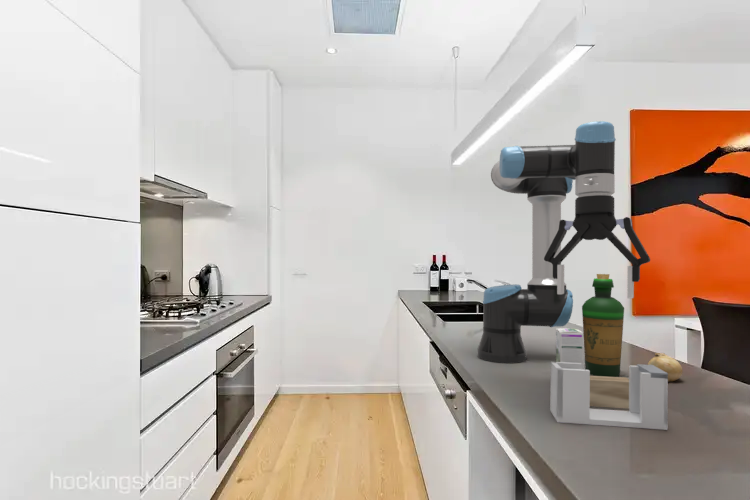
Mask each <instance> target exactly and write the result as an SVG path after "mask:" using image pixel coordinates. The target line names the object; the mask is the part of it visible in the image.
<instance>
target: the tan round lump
mask: <svg viewBox="0 0 750 500" xmlns="http://www.w3.org/2000/svg"><path fill="white" fill-rule="evenodd" d="M647 365H654V366H655V367H657V368H659V369H661V370H663V371H664V372H666V373H668V383H669V382H670V383H672V382H676V381H677V380H679V379H680V378H681V377H682V375H683V367H682V365H681V364H680V362H679V361H678V360H677V359H675V358H674V357H671V356H669V355H667V354H665V353H664V352H663V353H661V352H655V354H654V357H652V358H650V360H649V361H648V362H647Z"/></svg>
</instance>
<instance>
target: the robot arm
mask: <svg viewBox="0 0 750 500" xmlns="http://www.w3.org/2000/svg"><path fill="white" fill-rule="evenodd" d="M574 141H575V142H574V143H575V144H558V145H557V144H556V145H527V146H526V145H524V146H522V145H521V146H519V145H514V146H505V147H502V149H501V150H500V154H499V160H498V161H497V162H496V163H494V165H493V166H492V168H491V172H490V178H491V181H492V183H493V185H494V186H495V187H496V188H498V189H499V190H502V191H504V192H507V193H509V194H518V195H519V194H525V195H526V194H527V196H526V197H527V201H528V202H529V203H531V206H532V211H531V212H532V216H531V217H532V221H531V223H532V224H531V225H532V227H531V228H532V231H531V232H532V243H531V244H532V247H531V248H532V249H531V250H532V253H531V254H532V264H531V267H532V268H531V269H532V270H531V272H532V275H531V277H532V278H531V279H530V280H529V281H528V282H527V288H523V289H522V286H521V285H520V284H502V285H495V286H489V287H487V288H485V290H484V291H483V300H482V304H483V310H482V311H483V313H482V315H483V316H482V317H483V321H482V323H483V325H482V328H483V329H482V330H483V332H482V334H481V338H480V340H479V345H478V348H477V353H476V354H477V358H479V359H481V360H484V361H488V362H494V363H502V364H503V363H504V364H505V363H507V364H511V363H512V364H513V363H522V362H525V361H526V360H527V351H526V348H525V343H524V341H523V337H522V335H521V334H522V333H521V326H527V327H549V328H554V327H555V328H557V327H558V328H559V327H561V328H562V327H565V326H566V325H567V324H568V323H569V322H570V320H571V317H572V313H573V309H574V308H573V307H574V299H573V298H574V297H573V292H572V291H571V290H569V289H568V288H567V283H566V282H565V264H562V262H563V261H564V260H565V258H567V256H568V255H570V253H571V252H572V251H574V249H575V248H576V246H577V245H578V244H579V243H580V242H581V241H583V240H585V241H591V240H592V241H593V240H598V241H604V240H605V239H606V240H607V241H609V242H610V243H611V244H612V245H613V246H614V247H615V248H616V249H617V250H618V251H619V252H620V253H621V254H622V255H623V256H624V257H625V259H627V261H628V262H629V263H630V264H631V265H627V299H634V298H635V294H634V291H635V286H634V285H635V283H639V282H640V279H641V266H642V265H644V264H647V263H650V262H651V257H650V256H649V254H648V253H647V250H646V249H645V247H644V246H643V244H642V242H641V240H640V239H639V237H638V235H637V233H636V231H635V230H634V227H633V220H632V218H631V217H628V216H625V217H624V218H619V219H616V217H615V197H614V196H613V195H614V194H615V186H616V185H615V181H616V180H615V179H616V178H615V154H616V153H615V152H616V151H615V148H616V147H615V145H616V141H617V140H616V137H615V126H614V124H613V123H611V122H609V121H603V120H602V121H601V120H600V121H597V120H596V121H590V122H589V121H588V122H585V123H583V124H580V125H579V126H577V127H576V130H575V136H574ZM573 181H575V184H574V185H575V187H574V188H575V190H574V191H575V196H577V197H575V201H574V204H575V205H574V209H575V210H574V213H575V214H574V215H575V217H574V219H573V220H565V219H562V203H563V202H564V201H565V200H566V199H567V195H568V194H569V193H571V192H572V189H573ZM617 226H619V227H620V228H621V229H623V230H624V231H625V233H626V235H627V237H628V239H629V240H630V242H631V244H632V245H633V248H634V249H635V251H636V252H637V255H638V256H639V257H640V258H637V257H636V256H635V255H634V254H633V253H632V252H631V251H630V249H629V248H628V247H627V246H626V244H624V243H623V242H622V241H621V240H620V239H619V238H618V236H617V235H615V233H614V232H613V231H614V229H615V228H616V227H617ZM572 227H573V228H574V230H576V232H575V233H574V234H573V236H572V237H571V239H570V240H569V241H568V242H567V243H566V245H565V246H564V247H563V248H562V243H563V240H564V238H565V236H566V234H567V232H568V231H570V230H571V228H572Z"/></svg>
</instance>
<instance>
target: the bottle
mask: <svg viewBox="0 0 750 500" xmlns="http://www.w3.org/2000/svg"><path fill="white" fill-rule="evenodd" d="M592 287H593V288H594V296H592V297H590V298H588V299H587V300H586V301H584V303H583V304H582V306H581V312H582V313H581V315H582V328H583V329H582V330H583V331H582V332H583V333H584V370H589V371H590V376H605V377H620V374H621V362H622V361H621V360H622V359H621V358H622V349H623V335H624V334H623V333H624V318H625V307H624V306H623V304H622V302H621V301H619V300H618V299H616V298H615V297H612V291H613V290H612V289H614V288H615V286H614V280H613V279H612V278H610V274H608V273H596V278H593V282H592Z"/></svg>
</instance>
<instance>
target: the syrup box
mask: <svg viewBox="0 0 750 500" xmlns="http://www.w3.org/2000/svg"><path fill="white" fill-rule="evenodd" d="M555 362H570V363H581V364H582V369H584V370H585V352H584V333H583V331H581V330H580V329H578V328H571V327H561V328H559V327H558V328H557V327H555Z"/></svg>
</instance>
